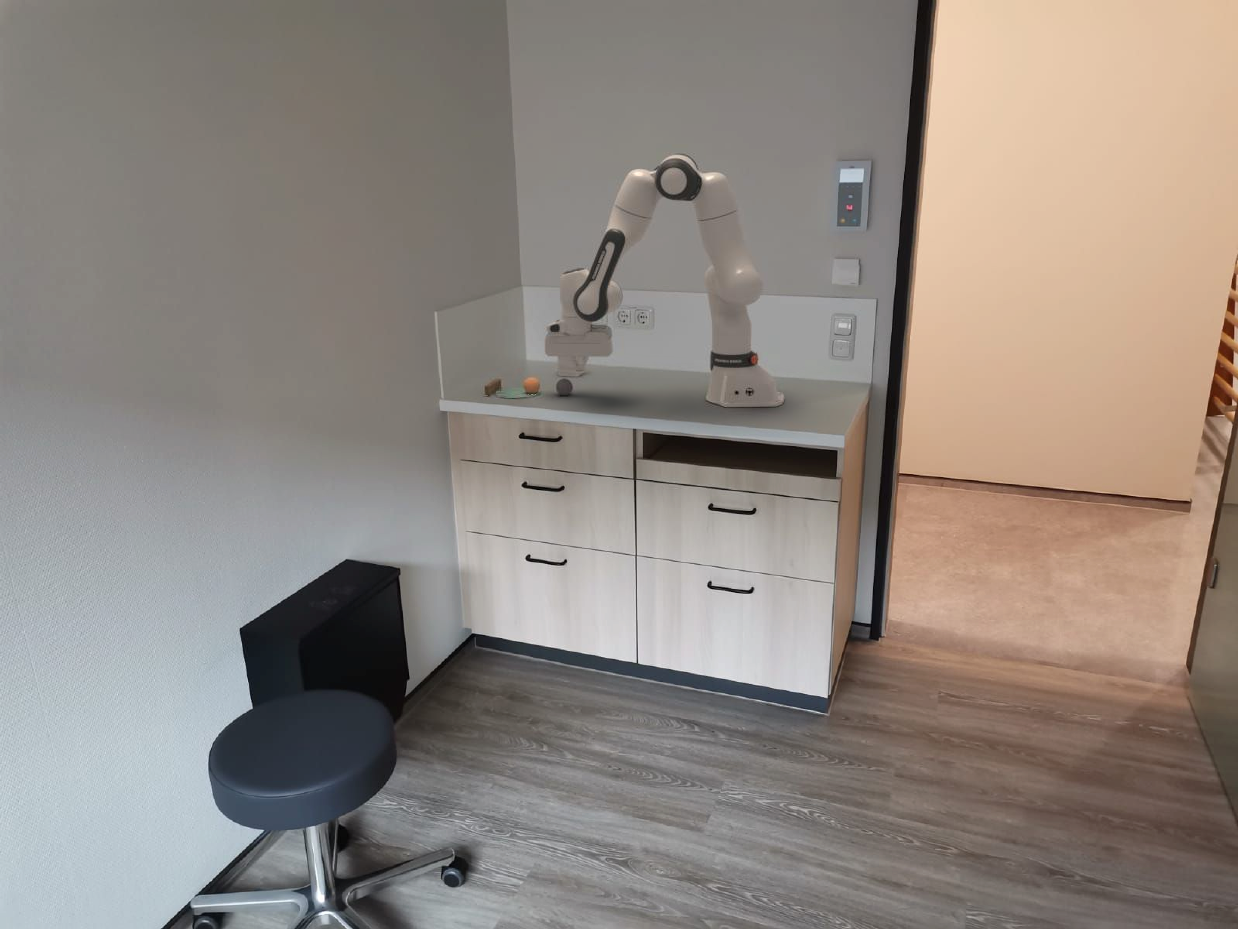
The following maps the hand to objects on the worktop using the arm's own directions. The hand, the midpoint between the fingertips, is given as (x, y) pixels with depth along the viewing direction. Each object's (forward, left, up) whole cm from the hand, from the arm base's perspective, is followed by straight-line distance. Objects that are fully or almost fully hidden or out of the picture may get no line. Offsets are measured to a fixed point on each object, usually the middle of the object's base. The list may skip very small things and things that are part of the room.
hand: (580, 370), depth 273 cm
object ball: (+15, +1, -5) cm, 16 cm away
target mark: (+20, +1, -7) cm, 21 cm away
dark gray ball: (+5, +1, -5) cm, 7 cm away
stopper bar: (+28, +1, -7) cm, 29 cm away
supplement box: (+10, -26, -8) cm, 29 cm away
